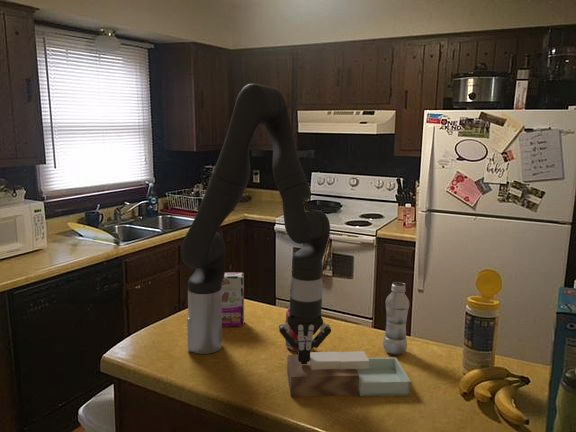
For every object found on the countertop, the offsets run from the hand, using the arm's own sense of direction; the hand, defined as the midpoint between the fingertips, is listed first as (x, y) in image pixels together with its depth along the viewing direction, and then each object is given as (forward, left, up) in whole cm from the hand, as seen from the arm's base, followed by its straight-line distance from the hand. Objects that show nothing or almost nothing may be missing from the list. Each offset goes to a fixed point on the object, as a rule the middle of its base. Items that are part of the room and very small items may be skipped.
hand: (303, 362), depth 120 cm
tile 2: (+12, 0, -1) cm, 12 cm away
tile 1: (+5, 0, -1) cm, 5 cm away
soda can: (+1, +20, -6) cm, 21 cm away
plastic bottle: (+28, +16, -6) cm, 32 cm away
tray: (+19, 0, -6) cm, 20 cm away
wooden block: (+5, 0, -6) cm, 7 cm away
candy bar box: (-20, +37, -6) cm, 43 cm away
